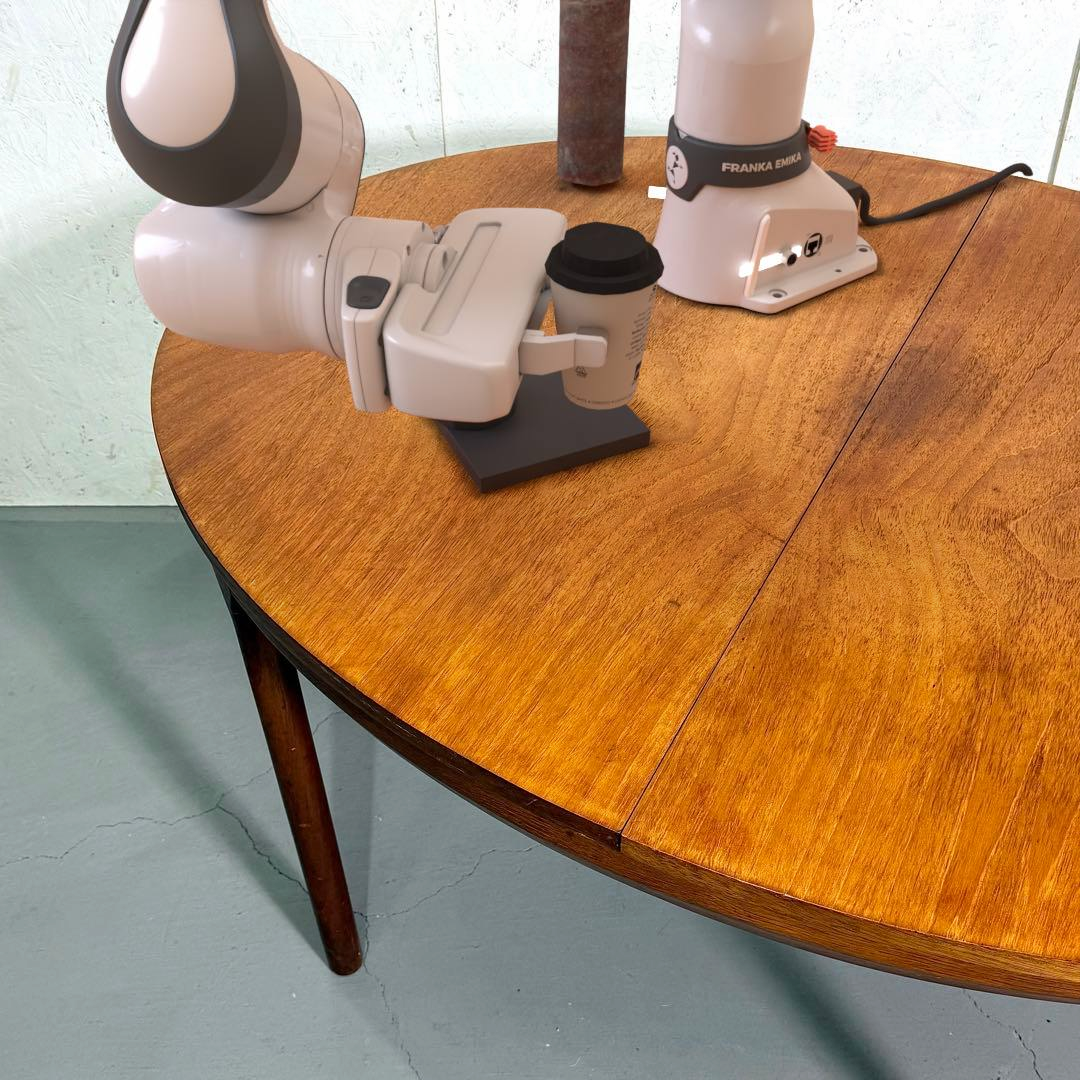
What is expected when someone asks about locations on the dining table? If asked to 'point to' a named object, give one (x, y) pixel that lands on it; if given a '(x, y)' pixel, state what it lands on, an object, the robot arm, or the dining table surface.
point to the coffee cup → (604, 305)
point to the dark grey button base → (541, 435)
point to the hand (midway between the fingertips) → (617, 313)
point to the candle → (592, 90)
